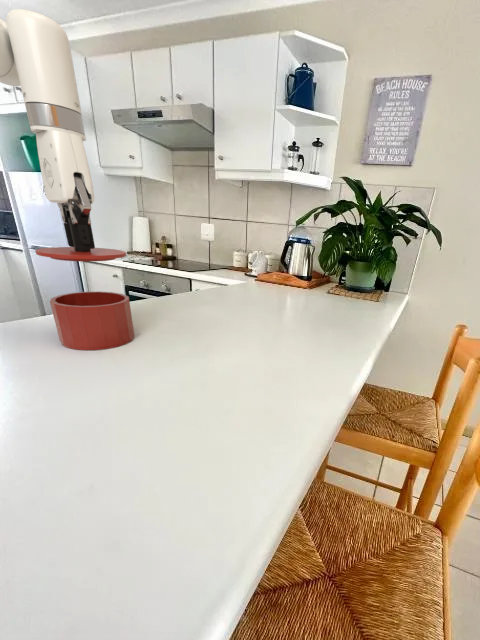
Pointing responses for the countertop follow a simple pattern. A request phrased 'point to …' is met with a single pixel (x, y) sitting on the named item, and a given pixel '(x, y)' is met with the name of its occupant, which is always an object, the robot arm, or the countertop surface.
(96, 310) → the pot
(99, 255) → the lid
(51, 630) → the countertop surface
